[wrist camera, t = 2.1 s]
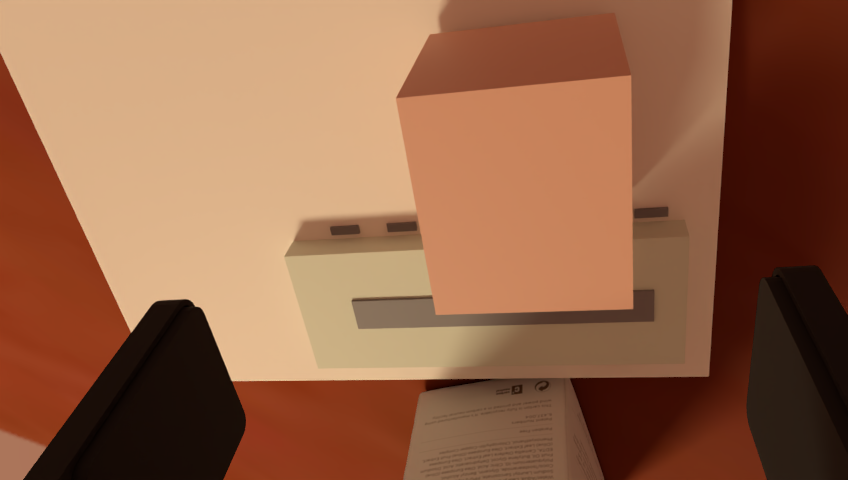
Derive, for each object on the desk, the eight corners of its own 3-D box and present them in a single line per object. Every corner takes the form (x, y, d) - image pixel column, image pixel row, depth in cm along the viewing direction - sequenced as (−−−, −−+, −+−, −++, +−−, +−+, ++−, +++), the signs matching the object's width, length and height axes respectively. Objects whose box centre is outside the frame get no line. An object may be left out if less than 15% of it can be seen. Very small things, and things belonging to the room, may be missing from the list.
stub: (614, 12, 19) (631, 75, 14) (618, 210, 22) (633, 309, 18) (430, 34, 20) (395, 98, 16) (457, 219, 23) (436, 315, 19)
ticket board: (730, -129, 18) (750, -121, 16) (703, 354, 26) (714, 398, 24) (-2, -17, 23) (-54, 0, 21) (167, 362, 31) (141, 400, 29)
